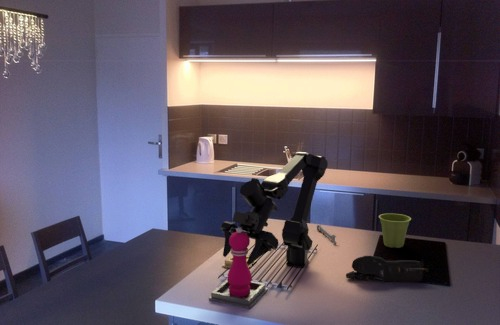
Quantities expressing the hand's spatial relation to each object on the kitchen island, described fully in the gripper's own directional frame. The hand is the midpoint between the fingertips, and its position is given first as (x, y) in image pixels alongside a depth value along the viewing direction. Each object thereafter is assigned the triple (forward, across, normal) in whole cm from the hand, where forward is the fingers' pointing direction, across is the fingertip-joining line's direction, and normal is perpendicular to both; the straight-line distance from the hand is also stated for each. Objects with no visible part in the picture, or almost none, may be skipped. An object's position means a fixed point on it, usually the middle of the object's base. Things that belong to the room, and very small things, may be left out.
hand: (235, 260), depth 130 cm
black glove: (-20, +29, +36) cm, 50 cm away
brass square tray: (-6, -15, +21) cm, 27 cm away
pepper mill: (+6, 0, +9) cm, 11 cm away
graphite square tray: (+7, 0, +9) cm, 11 cm away
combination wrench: (-37, -7, +53) cm, 65 cm away
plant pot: (-42, +18, +59) cm, 75 cm away
